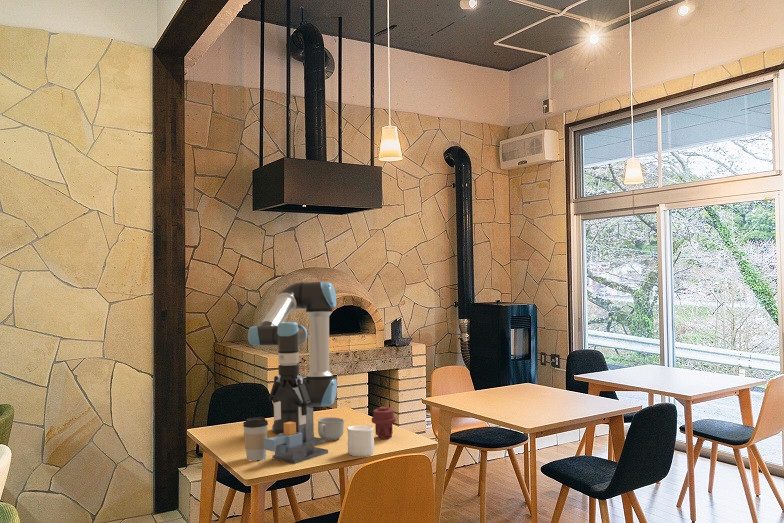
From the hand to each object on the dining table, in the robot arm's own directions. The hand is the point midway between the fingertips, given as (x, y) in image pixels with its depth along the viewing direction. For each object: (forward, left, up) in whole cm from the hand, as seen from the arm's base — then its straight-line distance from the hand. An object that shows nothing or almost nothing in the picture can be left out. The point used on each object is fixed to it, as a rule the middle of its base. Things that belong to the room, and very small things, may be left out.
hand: (289, 421), depth 235 cm
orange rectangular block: (0, 0, -12) cm, 12 cm away
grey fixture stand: (0, +5, -13) cm, 14 cm away
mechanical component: (+9, +43, -14) cm, 46 cm away
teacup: (-8, +28, -14) cm, 32 cm away
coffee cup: (-11, -7, -14) cm, 19 cm away
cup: (+17, +20, -14) cm, 30 cm away
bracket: (0, -3, -11) cm, 11 cm away
